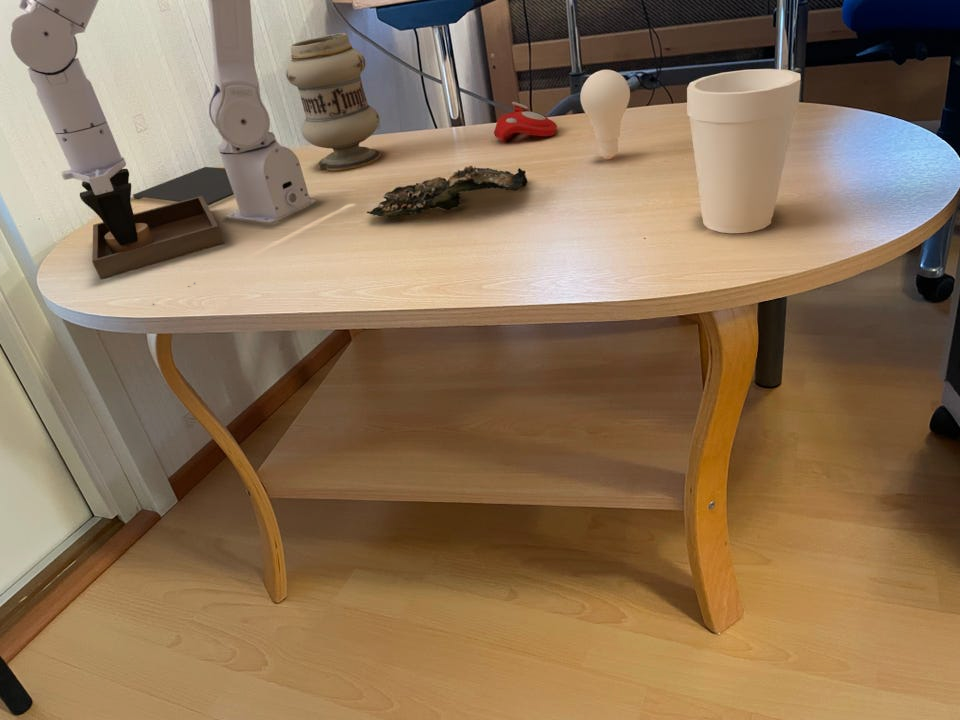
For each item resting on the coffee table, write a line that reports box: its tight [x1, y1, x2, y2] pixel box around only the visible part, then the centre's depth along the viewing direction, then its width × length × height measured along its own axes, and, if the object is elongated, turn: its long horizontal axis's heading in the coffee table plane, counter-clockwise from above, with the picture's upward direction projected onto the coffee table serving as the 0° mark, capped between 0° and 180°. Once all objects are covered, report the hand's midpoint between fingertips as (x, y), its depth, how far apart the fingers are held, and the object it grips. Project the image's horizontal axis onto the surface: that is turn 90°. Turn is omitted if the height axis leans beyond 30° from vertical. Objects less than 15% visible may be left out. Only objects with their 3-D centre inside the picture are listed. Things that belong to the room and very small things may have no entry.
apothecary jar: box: [285, 33, 381, 172], centre depth 106 cm, size 12×12×18 cm
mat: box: [132, 166, 234, 206], centre depth 110 cm, size 20×14×1 cm
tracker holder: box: [493, 101, 558, 142], centre depth 108 cm, size 12×4×10 cm
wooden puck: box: [105, 223, 153, 253], centre depth 88 cm, size 5×5×2 cm
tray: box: [91, 196, 225, 280], centre depth 88 cm, size 16×14×3 cm
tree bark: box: [366, 165, 529, 219], centre depth 85 cm, size 19×6×15 cm
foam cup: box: [686, 68, 802, 234], centre depth 65 cm, size 10×9×13 cm
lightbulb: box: [579, 69, 631, 160], centre depth 89 cm, size 6×6×11 cm
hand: (128, 236), depth 88 cm, fingers closed on wooden puck, 5 cm apart
